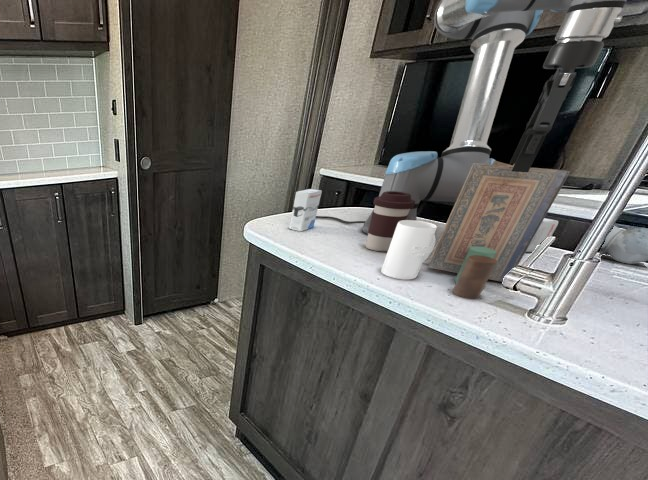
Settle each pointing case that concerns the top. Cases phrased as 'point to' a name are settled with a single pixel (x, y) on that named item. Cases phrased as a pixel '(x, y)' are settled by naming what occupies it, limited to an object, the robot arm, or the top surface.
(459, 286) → the walnut peg
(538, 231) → the ink box
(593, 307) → the top surface
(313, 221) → the ink box
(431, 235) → the mug
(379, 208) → the coffee cup
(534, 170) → the book
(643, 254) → the figurine
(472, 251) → the sage peg
